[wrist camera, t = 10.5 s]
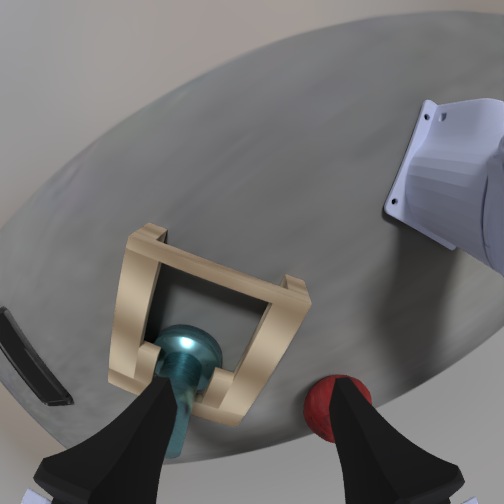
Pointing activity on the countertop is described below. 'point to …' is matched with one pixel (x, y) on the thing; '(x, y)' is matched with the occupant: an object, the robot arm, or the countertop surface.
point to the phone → (29, 363)
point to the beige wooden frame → (222, 381)
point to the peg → (185, 372)
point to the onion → (325, 405)
